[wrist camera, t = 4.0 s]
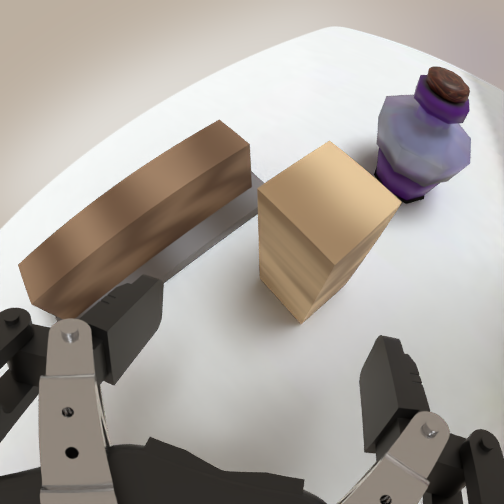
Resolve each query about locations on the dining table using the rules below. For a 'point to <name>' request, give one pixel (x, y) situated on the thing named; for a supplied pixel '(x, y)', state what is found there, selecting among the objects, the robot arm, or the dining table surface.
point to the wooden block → (318, 227)
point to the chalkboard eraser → (146, 223)
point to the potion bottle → (423, 136)
